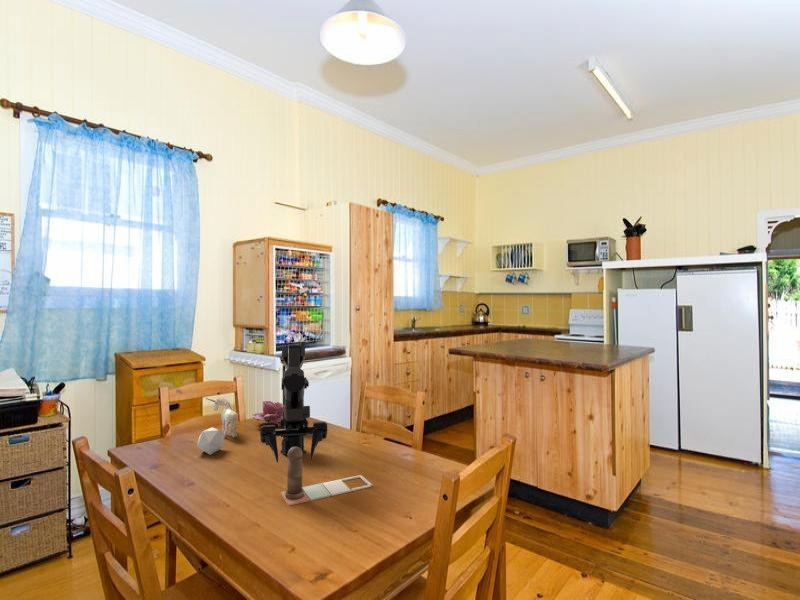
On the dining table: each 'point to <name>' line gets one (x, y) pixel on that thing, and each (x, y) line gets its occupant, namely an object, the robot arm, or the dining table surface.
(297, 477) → the walnut pawn
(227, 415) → the unicorn figurine
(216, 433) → the die
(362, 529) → the dining table surface
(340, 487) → the strip
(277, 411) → the flower
